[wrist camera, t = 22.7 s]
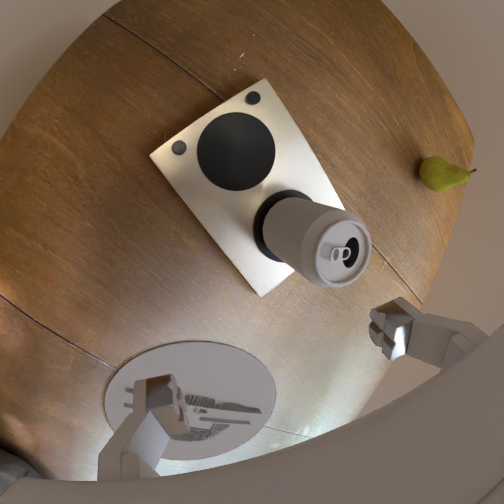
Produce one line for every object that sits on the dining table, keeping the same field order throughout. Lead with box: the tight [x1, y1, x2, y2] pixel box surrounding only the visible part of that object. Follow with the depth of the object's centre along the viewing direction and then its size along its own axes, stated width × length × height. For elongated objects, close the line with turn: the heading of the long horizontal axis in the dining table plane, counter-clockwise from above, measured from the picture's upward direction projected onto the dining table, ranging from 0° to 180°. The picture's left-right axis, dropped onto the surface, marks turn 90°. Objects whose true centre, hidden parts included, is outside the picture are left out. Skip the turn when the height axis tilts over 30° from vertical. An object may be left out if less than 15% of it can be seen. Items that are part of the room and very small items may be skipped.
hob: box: [149, 78, 345, 298], centre depth 35 cm, size 22×16×2 cm
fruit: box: [419, 157, 476, 192], centre depth 38 cm, size 6×6×12 cm
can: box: [263, 197, 371, 288], centre depth 31 cm, size 8×8×12 cm
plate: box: [105, 341, 276, 460], centre depth 41 cm, size 28×28×1 cm
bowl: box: [0, 449, 43, 497], centre depth 29 cm, size 23×22×10 cm
